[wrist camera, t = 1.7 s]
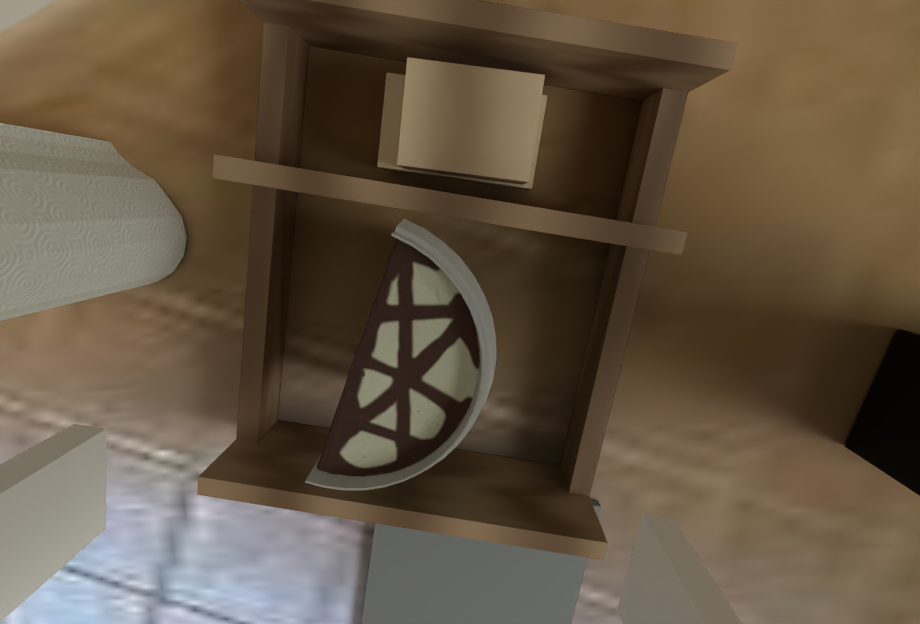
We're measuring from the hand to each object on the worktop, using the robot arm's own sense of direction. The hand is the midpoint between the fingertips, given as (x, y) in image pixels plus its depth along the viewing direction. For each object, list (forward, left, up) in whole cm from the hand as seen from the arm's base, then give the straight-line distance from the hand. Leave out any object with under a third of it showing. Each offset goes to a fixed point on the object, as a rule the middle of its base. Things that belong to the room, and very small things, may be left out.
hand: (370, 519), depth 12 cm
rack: (0, -4, -18) cm, 18 cm away
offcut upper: (0, -11, -16) cm, 19 cm away
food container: (0, 0, -18) cm, 18 cm away
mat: (-5, +16, -18) cm, 25 cm away
